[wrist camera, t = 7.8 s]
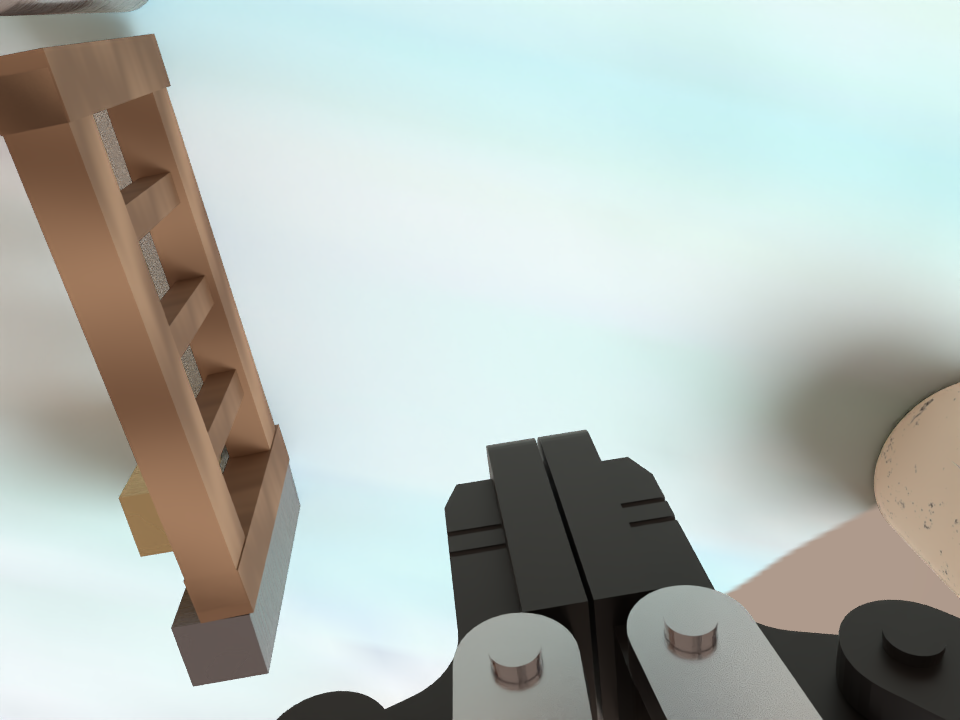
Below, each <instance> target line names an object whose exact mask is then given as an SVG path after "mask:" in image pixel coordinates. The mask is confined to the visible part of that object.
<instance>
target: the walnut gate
mask: <svg viewBox="0 0 960 720" xmlns="http://www.w3.org/2000/svg"><path fill="white" fill-rule="evenodd" d="M169 86H171V85H170V82H169V79H168V76H167V73H166V69H165V66H164V63H163V60H162V57H161V54H160V51H159V47H158V44H157V41H156V38H155V35H154V34H149V35H141V36H133V37H125V38H117V39H109V40H101V41H93V42H85V43H77V44H69V45H61V46H54V47H46V48H39V49H34V50H29V51H24V52H19V53H14V54H9V55H3V56H0V135H1V136H3V137H4V139H5V142H6V144H7V147H8V149H9V152H10V154H11V156H12V159H13V161H14V164H15V166H16V169H17V171H18V174H19V176H20V178H21V181H22V183H23V186H24V188H25V191H26V193H27V196H28V198H29V200H30V203H31V205H32V208H33V210H34V213H35V215H36V218H37V220H38V222H39V225H40V227H41V230H42V232H43V235H44V237H45V240H46V242H47V244H48V247H49V249H50V252H51V254H52V257H53V259H54V262H55V264H56V266H57V269H58V271H59V274H60V276H61V279H62V281H63V283H64V286H65V288H66V291H67V293H68V296H69V298H70V301H71V303H72V305H73V308H74V310H75V313H76V315H77V318H78V320H79V323H80V325H81V327H82V330H83V332H84V335H85V337H86V340H87V342H88V345H89V347H90V349H91V352H92V354H93V357H94V359H95V362H96V364H97V367H98V369H99V371H100V374H101V376H102V379H103V381H104V384H105V386H106V389H107V391H108V393H109V396H110V398H111V401H112V403H113V406H114V408H115V411H116V413H117V415H118V418H119V420H120V423H121V425H122V428H123V430H124V433H125V435H126V437H127V440H128V442H129V445H130V447H131V450H132V452H133V454H134V457H135V459H136V462H137V464H138V467H139V469H140V472H141V474H142V476H143V479H144V481H145V484H146V486H147V489H148V491H149V494H150V496H151V498H152V501H153V503H154V506H155V508H156V511H157V513H158V516H159V518H160V520H161V523H162V525H163V528H164V530H165V533H166V535H167V538H168V540H169V542H170V545H171V547H172V550H173V552H174V555H175V557H176V560H177V562H178V564H179V567H180V569H181V572H182V574H183V577H184V584H185V586H186V588H187V591H188V593H189V596H190V598H191V601H192V603H193V606H194V608H195V610H196V613H197V615H198V618H199V620H200V623H206V622H211V621H216V620H220V619H225V618H230V617H235V616H240V615H245V614H250V613H254V610H255V605H256V601H257V597H258V592H259V588H260V584H261V580H262V575H263V571H264V567H265V562H266V558H267V554H268V550H269V545H270V541H271V537H272V532H273V528H274V524H275V519H276V515H277V511H278V507H279V502H280V498H281V494H282V489H283V485H284V481H285V476H286V472H287V468H288V464H289V456H288V453H287V450H286V446H285V443H284V440H283V437H282V434H281V431H280V428H279V424H278V425H274V422H273V419H272V416H271V413H270V410H269V407H268V403H267V400H266V397H265V394H264V391H263V388H262V385H261V382H260V378H259V375H258V372H257V369H256V366H255V363H254V360H253V357H252V354H251V350H250V347H249V344H248V341H247V338H246V335H245V332H244V329H243V325H242V322H241V319H240V316H239V313H238V310H237V307H236V304H235V301H234V297H233V294H232V291H231V288H230V285H229V282H228V279H227V276H226V272H225V269H224V266H223V263H222V260H221V257H220V254H219V251H218V248H217V244H216V241H215V238H214V235H213V232H212V229H211V226H210V223H209V219H208V216H207V213H206V210H205V207H204V204H203V201H202V198H201V195H200V191H199V188H198V185H197V182H196V179H195V176H194V173H193V170H192V166H191V163H190V160H189V157H188V154H187V151H186V148H185V145H184V142H183V138H182V135H181V132H180V129H179V126H178V123H177V120H176V117H175V113H174V110H173V107H172V104H171V101H170V98H169V95H168V92H167V89H166V87H169ZM106 109H107V112H108V115H109V117H110V120H111V123H112V126H113V129H114V132H115V134H116V137H117V140H118V143H119V146H120V149H121V151H122V154H123V157H124V160H125V163H126V166H127V168H128V171H129V174H130V177H131V180H132V183H131V184H130V185H128V186H127V187H125V188H124V189H122V190H121V191H120V189H119V186H118V183H117V180H116V178H115V175H114V172H113V169H112V167H111V164H110V161H109V158H108V155H107V153H106V150H105V147H104V144H103V142H102V139H101V136H100V133H99V131H98V128H97V125H96V122H95V119H94V117H93V114H95V113H98V112H100V111H103V110H106ZM148 232H150V233H151V236H152V239H153V242H154V245H155V248H156V250H157V253H158V256H159V259H160V262H161V265H162V267H163V270H164V273H165V276H166V279H167V282H168V284H169V287H170V289H169V290H168V292H167V293H166V294H165V295H164V297H163V298H162V299H161V300H160V299H159V297H158V294H157V291H156V288H155V286H154V283H153V280H152V277H151V275H150V272H149V269H148V266H147V263H146V261H145V258H144V255H143V252H142V250H141V247H140V244H139V241H140V240H141V239H142V238H143V237H144V236H145V235H146V234H147V233H148ZM189 344H190V347H191V350H192V352H193V355H194V358H195V361H196V364H197V366H198V369H199V372H200V375H201V378H202V381H203V383H204V384H203V386H202V388H201V390H200V392H199V394H198V396H197V398H196V399H195V396H194V394H193V391H192V388H191V385H190V383H189V380H188V377H187V374H186V371H185V369H184V366H183V363H182V360H181V357H182V356H183V354H184V352H185V351H186V349H187V347H188V346H189ZM224 446H226V449H227V451H228V454H229V459H228V462H227V464H226V467H225V470H224V473H223V474H222V471H221V468H220V466H219V463H218V461H219V458H220V456H221V453H222V451H223V448H224Z"/></svg>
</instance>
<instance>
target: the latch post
mask: <svg viewBox="0 0 960 720" xmlns="http://www.w3.org/2000/svg"><path fill="white" fill-rule="evenodd" d="M221 460H222V459H221V456H220V458H219V461H218V463H219V465H220V463H221ZM119 500H120V503H121V505H122V508H123V511H124V513H125V516H126V519H127V521H128V524H129V527H130V529H131V532H132V535H133V537H134V540H135V543H136V545H137V548H138V550H139V553H140V556H141V557H142V556H148V555H154V554H160V553H166V552H171V551H173V550H172V547H171V545H170V542H169V540H168V538H167V535H166V533H165V530H164V528H163V525H162V523H161V520H160V518H159V516H158V513H157V511H156V508H155V506H154V503H153V501H152V498H151V496H150V494H149V491H148V489H147V486H146V484H145V481H144V479H143V476H142V474H141V472H140V469H139V467H138V464H137V466H136V468H135V470H134V472H133V473H132V475H131V477H130V479H129V480H128V482H127V484H126V486H125V488H124V489H123V491H122V493H121V495H120V497H119ZM299 510H300V503H299V499H298V495H297V492H296V488H295V484H294V481H293V477H292V473H291V470H290V466H289V464H288V468H287V472H286V476H285V481H284V485H283V489H282V494H281V498H280V502H279V507H278V511H277V515H276V519H275V524H274V528H273V532H272V537H271V541H270V545H269V550H268V554H267V558H266V562H265V567H264V571H263V575H262V580H261V584H260V588H259V592H258V597H257V601H256V605H255V610H254V613H250V614H245V615H240V616H235V617H230V618H225V619H220V620H216V621H211V622H206V623H200V620H199V618H198V615H197V613H196V610H195V608H194V606H193V603H192V601H191V598H190V596H189V593H188V591H187V588H185V591H184V594H183V597H182V600H181V602H180V605H179V608H178V611H177V613H176V616H175V619H174V622H173V625H172V627H171V629H172V632H173V634H174V637H175V640H176V642H177V645H178V648H179V650H180V653H181V656H182V658H183V661H184V664H185V666H186V669H187V672H188V674H189V677H190V680H191V682H192V685H193V686H199V685H204V684H210V683H216V682H222V681H227V680H233V679H239V678H245V677H250V676H256V675H262V674H267V673H269V668H270V663H271V657H272V652H273V647H274V641H275V636H276V631H277V626H278V620H279V615H280V610H281V605H282V599H283V594H284V589H285V584H286V578H287V573H288V568H289V562H290V557H291V552H292V547H293V541H294V536H295V531H296V526H297V520H298V515H299Z"/></svg>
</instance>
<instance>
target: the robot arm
mask: <svg viewBox="0 0 960 720" xmlns="http://www.w3.org/2000/svg"><path fill="white" fill-rule="evenodd" d="M537 445H538V446H537ZM486 448H487V457H488V465H489V472H490V479H489V480H483V481H477V482H470V483H464V484H458V485H456V487H455V489H454V491H453V492H452V494H451V496H450V498H449V500H448V502H447V504H446V506H445V517H446V526H447V534H448V545H449V553H450V563H451V572H452V581H453V590H454V599H455V609H456V618H457V627H458V645H457V649H456V652H455V655H454V658H453V660H452V662H451V663H450V665H449V667H448V668H447V669H446V671H445V672H444V673H443V674H442V675H441V677H440V678H438V679H437V680H436V681H435V682H434V683H433V684H432V685H430V686H429V687H427V688H426V689H425V690H423V691H422V692H420V693H418V694H416V695H414V696H412V697H410V698H408V699H406V700H404V701H402V702H400V703H397V704H395V705H393V706H391V707H389V708H387V709H384V708H383V707H382V706H381V705H380V704H379V703H378V702H377V701H375V700H374V699H372V698H370V697H368V696H366V695H363V694H360V693H356V692H350V691H335V692H327V693H323V694H319V695H316V696H313V697H311V698H308V699H306V700H303V701H302V702H300V703H298V704H296V705H294V706H293V707H291V708H290V709H289V710H287V711H286V712H284V713H283V714H282V715H281V716H280V717H279V718H278V719H277V720H960V618H958V617H955V616H953V615H950V614H948V613H946V612H943V611H941V610H938V609H935V608H933V607H930V606H927V605H923V604H919V603H915V602H910V601H903V600H881V601H874V602H870V603H866V604H864V605H861V606H859V607H857V608H855V609H854V610H852V611H851V612H850V613H848V614H847V615H846V616H845V618H844V620H843V621H842V623H841V625H840V630H839V635H833V634H820V633H808V632H797V631H796V632H795V631H787V630H780V629H776V628H772V627H768V626H765V625H762V624H759V623H756V622H755V621H754V620H753V618H752V617H751V615H750V614H749V613H748V612H747V611H746V609H745V608H744V607H743V606H742V605H741V604H739V603H738V602H737V601H736V600H734V599H732V598H731V597H729V596H728V595H725V594H723V593H721V592H719V591H716V590H715V589H714V587H713V585H712V584H711V582H710V580H709V578H708V576H707V574H706V573H705V571H704V569H703V567H702V565H701V563H700V561H699V560H698V558H697V556H696V554H695V552H694V550H693V548H692V547H691V545H690V543H689V541H688V539H687V537H686V536H685V534H684V532H683V530H682V528H681V526H680V524H679V523H678V521H677V520H675V515H674V513H673V511H672V510H671V508H670V506H669V504H668V502H667V501H665V497H664V495H663V493H662V491H661V489H660V487H659V486H658V484H657V482H656V480H655V478H654V476H653V474H651V473H650V472H649V471H647V470H646V469H644V468H643V467H641V466H640V465H639V464H637V463H636V462H634V461H633V460H631V459H630V458H629V457H625V458H618V459H612V460H606V461H601V459H600V457H599V455H598V453H597V451H596V448H595V446H594V444H593V442H592V439H591V437H590V435H589V433H588V431H587V430H581V431H575V432H568V433H562V434H556V435H549V436H543V437H538V440H537V443H536V440H535V439H534V438H532V439H525V440H519V441H513V442H507V443H500V444H494V445H488V446H486Z"/></svg>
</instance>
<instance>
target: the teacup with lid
mask: <svg viewBox="0 0 960 720" xmlns="http://www.w3.org/2000/svg"><path fill="white" fill-rule="evenodd" d="M874 492H875V498H876V502H877V505H878V508H879V510H880V512H881V514H882V515H883V517H884V518H885V520H886V521H887V523H888V524H889V525H890V526H891V527H892V528H893V529H894V530H895V531H896V532H897V533H898V535H900V537H901V538H902V539H903V540H904V541H905V542H906V543H907V544H908V545H909V546H910V547H911V548H912V549H913V550H914V551H915V552H916V554H917V555H918V556H920V558H921V559H922V560H923V561H924V562H925V563H926V564H927V565H928V566H929V567H930V568H931V569H932V570H933V571H934V573H935V574H936V575H937V576H938V577H939V578H940V579H941V580H942V581H943V582H944V583H945V584H946V585H947V586H948V587H949V588H950V589H951V590H952V591H953V593H954V594H955V595H957V597H958V598H959V599H960V383H957V384H954V385H951V386H949V387H947V388H944V389H942V390H940V391H938V392H936V393H935V394H933V395H931V396H929V397H928V398H926V399H925V400H923V401H922V402H921V403H919V404H918V405H917V406H915V407H914V408H913V409H912V410H911V411H910V412H909V413H908V414H907V415H906V416H905V417H904V418H903V419H902V420H901V421H900V422H899V423H898V424H897V426H896V427H895V428H894V429H893V431H892V432H891V434H890V435H889V437H888V438H887V440H886V442H885V444H884V446H883V448H882V450H881V452H880V455H879V458H878V461H877V464H876V468H875V474H874Z"/></svg>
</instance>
